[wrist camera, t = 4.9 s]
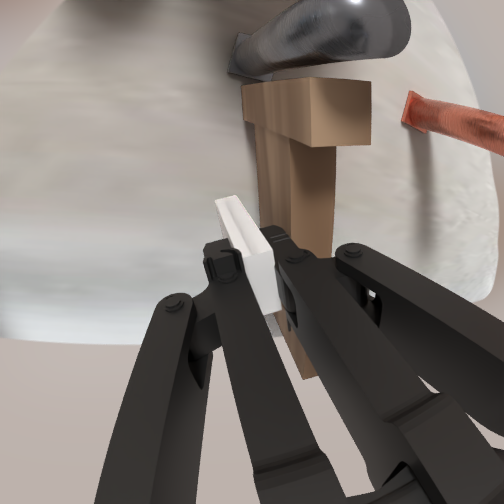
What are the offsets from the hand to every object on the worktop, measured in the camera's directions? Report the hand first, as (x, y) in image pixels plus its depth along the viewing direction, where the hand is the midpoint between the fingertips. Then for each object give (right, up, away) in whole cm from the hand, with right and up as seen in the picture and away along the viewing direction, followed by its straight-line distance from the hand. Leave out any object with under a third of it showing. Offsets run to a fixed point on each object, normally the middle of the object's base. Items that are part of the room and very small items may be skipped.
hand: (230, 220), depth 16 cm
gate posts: (+8, +10, +2) cm, 13 cm away
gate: (+2, +3, +4) cm, 5 cm away
